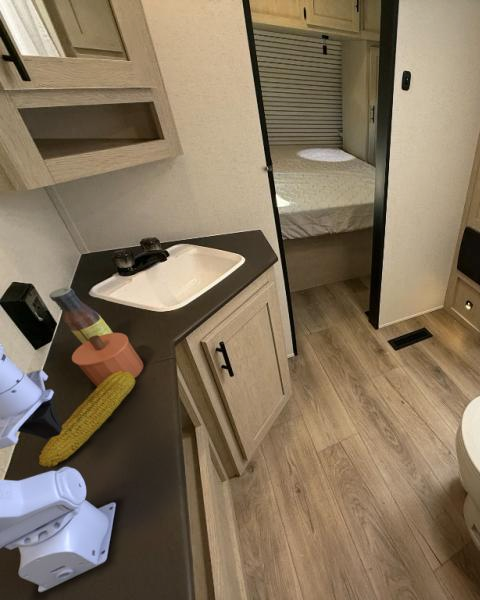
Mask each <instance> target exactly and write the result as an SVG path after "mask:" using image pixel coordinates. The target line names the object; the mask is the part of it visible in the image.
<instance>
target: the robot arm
mask: <svg viewBox="0 0 480 600" xmlns="http://www.w3.org/2000/svg"><path fill="white" fill-rule="evenodd" d="M4 352H5V348H4V346H3V344H2V343H1V342H0V450H2V449H5V448H8V447H11V446H14V445H17V444H18V442H19V437H17V433H24V434H29V435H33V436H36V437H38V438H41V439H44V440H48V439H51V438H52V437H54V436H57V435H60V433H61V431H62V424H61V422H60V419H59V417H58V415H57V412H56V406H55V396H54V394H55V391H54V390H53V389H51V388H49V389H46V387H45V382H46V381H47V380H48V378H49V375H47V373H45V371H44V370H43V369H37V370H34V371H31V372H27V373H25V372H24V371H22V369H21V368H19V367H18V365H16V364H15V363H14V361H12V359H11V358H9V357H8V356H7V355H6V353H4ZM86 497H87V486H86V482H85V480H84V477H83V476H82V475H81V473H80V472H79V470H77V469H76V468H73V467H70V466H62V467H61V468H59V469H57V470H50V471H46V472H42V473H39V474H36V475H33V476H30V477H26V478H23V479H19V480H10V479H0V550H1V549H2V548H6V549H8V550H9V551H11V550H13V549H16V548H18V550H19V553H20V563H19V567H18V576H19V578H21V579H24V580H26V581H28V582H31V583H33V584H35V585H37V586H38V589H37V591H38V592H39V593H43V592H46V591H48V590H49V589H51V588H54V587H56V586H58V585H60V584H62V583H64V582H66V581H68V580H70V579H73V578H74V577H76V576H79V575H81V574H83V573H85V572H88V571H89V570H92V569H94V568H96V567H98V566H100V565H102V564H104V563H105V562H106V561H107V559H108V554H109V549H110V548H109V547H110V541H111V537H112V530H113V523H114V517H115V512H116V505H117V503H116V502H110V503H108V504H105V505H103V506H101V507H96V506H94V505H93V504H91V502H89V501H88V500H86Z"/></svg>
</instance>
